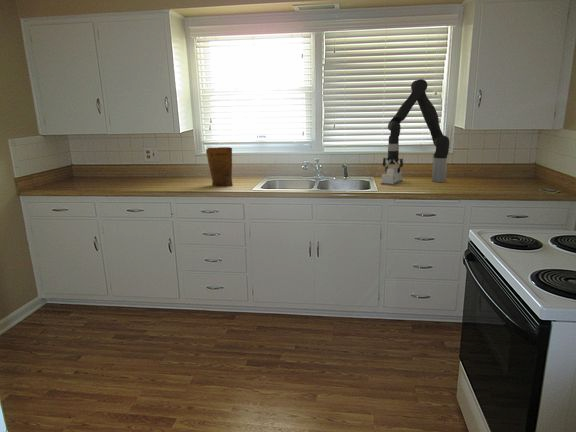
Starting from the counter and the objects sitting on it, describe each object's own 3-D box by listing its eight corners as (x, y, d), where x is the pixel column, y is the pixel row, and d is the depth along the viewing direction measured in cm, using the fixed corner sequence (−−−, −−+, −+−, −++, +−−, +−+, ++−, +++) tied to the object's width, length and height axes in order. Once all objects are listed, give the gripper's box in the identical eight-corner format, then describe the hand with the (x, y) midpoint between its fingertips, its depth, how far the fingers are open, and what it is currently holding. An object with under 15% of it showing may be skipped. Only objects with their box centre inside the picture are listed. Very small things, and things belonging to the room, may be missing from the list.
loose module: (397, 180, 312) (398, 167, 310) (392, 182, 305) (393, 169, 303) (390, 179, 315) (391, 167, 313) (386, 181, 308) (386, 168, 305)
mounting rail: (402, 181, 316) (403, 171, 314) (392, 185, 300) (393, 175, 298) (390, 180, 321) (391, 170, 319) (380, 184, 305) (380, 174, 303)
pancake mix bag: (232, 187, 306) (230, 147, 298) (207, 186, 311) (205, 147, 303) (235, 185, 312) (233, 146, 305) (211, 184, 317) (209, 146, 310)
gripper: (404, 149, 303) (403, 172, 307) (385, 149, 311) (385, 171, 315) (401, 150, 297) (400, 174, 302) (381, 150, 305) (381, 172, 309)
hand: (392, 172), depth 308 cm, fingers open, 8 cm apart
